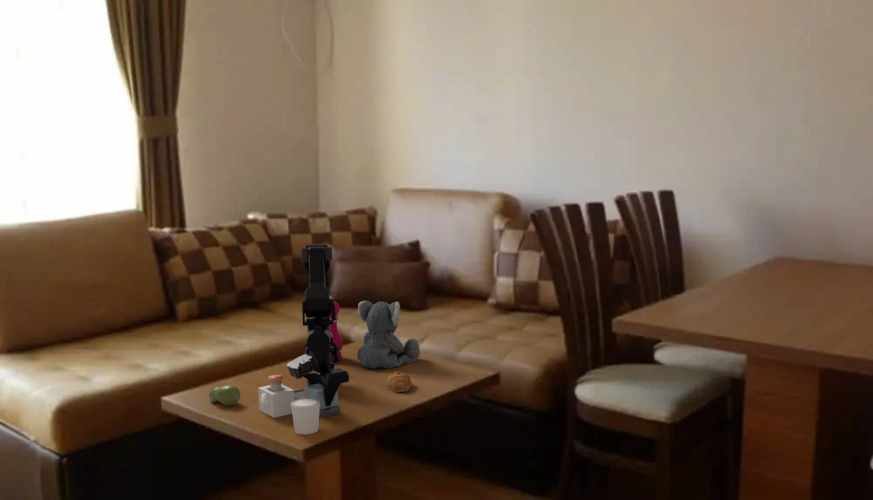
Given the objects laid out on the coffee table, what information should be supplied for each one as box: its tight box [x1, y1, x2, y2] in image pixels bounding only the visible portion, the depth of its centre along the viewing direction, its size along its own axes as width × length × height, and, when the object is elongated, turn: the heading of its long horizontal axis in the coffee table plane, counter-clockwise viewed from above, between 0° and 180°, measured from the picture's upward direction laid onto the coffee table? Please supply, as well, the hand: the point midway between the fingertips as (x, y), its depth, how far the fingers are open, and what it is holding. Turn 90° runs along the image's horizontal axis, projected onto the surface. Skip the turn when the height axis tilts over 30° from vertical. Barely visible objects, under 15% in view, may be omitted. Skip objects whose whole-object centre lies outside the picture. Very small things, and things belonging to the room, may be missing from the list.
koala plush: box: [356, 300, 420, 370], centre depth 270 cm, size 17×18×20 cm
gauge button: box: [267, 374, 283, 392], centre depth 228 cm, size 4×4×6 cm
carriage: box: [304, 384, 339, 417], centre depth 228 cm, size 6×6×6 cm
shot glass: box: [291, 398, 320, 435], centre depth 215 cm, size 7×7×7 cm
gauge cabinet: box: [257, 383, 295, 419], centre depth 228 cm, size 6×8×6 cm
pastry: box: [385, 371, 413, 393], centre depth 246 cm, size 9×7×4 cm
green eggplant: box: [208, 384, 242, 407], centre depth 236 cm, size 6×5×10 cm
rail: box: [293, 388, 341, 419], centre depth 233 cm, size 5×20×2 cm, turn 38°
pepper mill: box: [327, 295, 344, 361], centre depth 275 cm, size 7×7×20 cm
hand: (321, 403), depth 228 cm, fingers closed on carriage, 6 cm apart
